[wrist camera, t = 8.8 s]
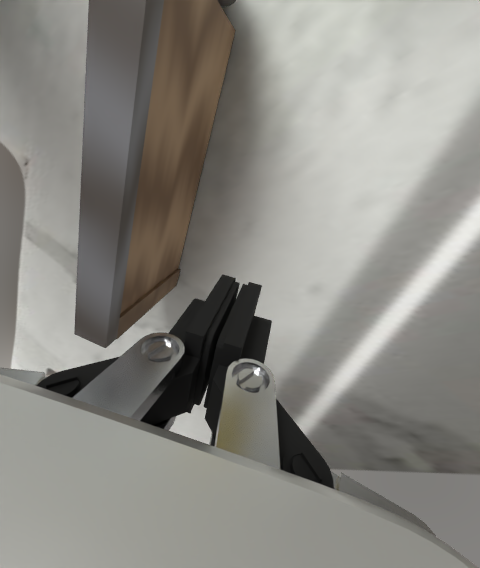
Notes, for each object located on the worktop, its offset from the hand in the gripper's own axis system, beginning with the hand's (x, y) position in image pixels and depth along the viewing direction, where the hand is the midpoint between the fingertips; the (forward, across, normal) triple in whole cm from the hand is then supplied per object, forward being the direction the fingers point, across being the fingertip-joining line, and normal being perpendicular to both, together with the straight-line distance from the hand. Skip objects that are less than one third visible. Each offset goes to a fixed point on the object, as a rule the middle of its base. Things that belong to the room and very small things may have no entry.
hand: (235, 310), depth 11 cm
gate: (+10, +6, -4) cm, 13 cm away
